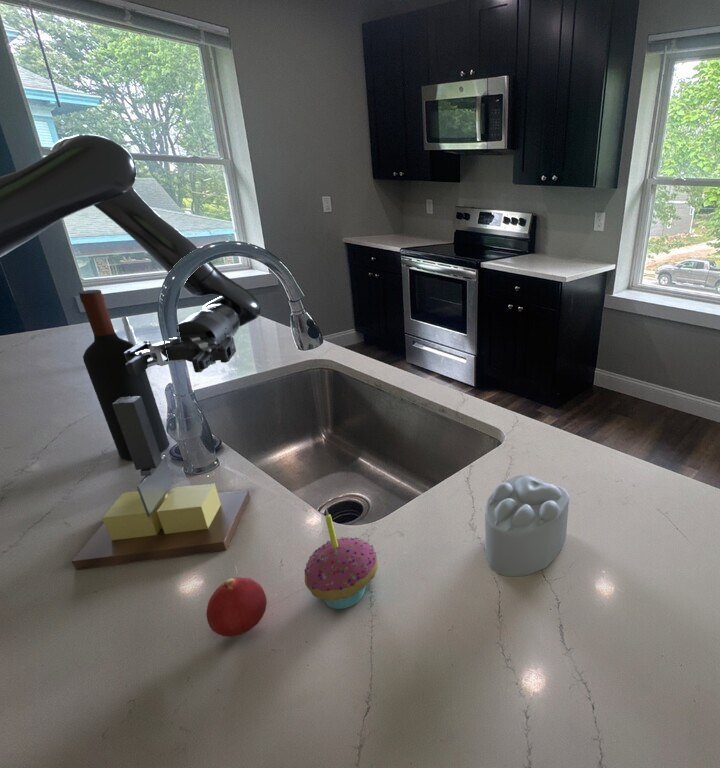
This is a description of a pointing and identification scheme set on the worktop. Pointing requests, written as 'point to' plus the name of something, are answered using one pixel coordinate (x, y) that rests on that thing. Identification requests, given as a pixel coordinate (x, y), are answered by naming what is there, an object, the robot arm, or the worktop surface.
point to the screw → (129, 331)
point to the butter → (163, 513)
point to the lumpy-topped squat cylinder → (525, 525)
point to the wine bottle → (116, 373)
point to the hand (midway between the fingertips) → (164, 368)
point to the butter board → (166, 539)
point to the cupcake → (340, 569)
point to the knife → (143, 451)
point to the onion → (236, 607)
